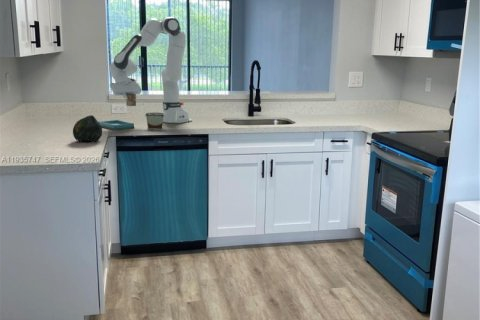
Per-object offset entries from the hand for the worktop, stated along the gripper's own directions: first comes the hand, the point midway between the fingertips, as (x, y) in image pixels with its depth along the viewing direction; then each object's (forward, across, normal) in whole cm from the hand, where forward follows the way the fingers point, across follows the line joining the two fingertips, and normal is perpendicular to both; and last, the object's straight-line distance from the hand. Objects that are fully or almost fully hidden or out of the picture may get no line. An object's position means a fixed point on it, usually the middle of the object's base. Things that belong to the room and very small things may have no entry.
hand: (131, 98), depth 304 cm
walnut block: (+3, 0, +4) cm, 5 cm away
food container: (+26, +6, 0) cm, 27 cm away
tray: (+12, -12, +13) cm, 21 cm away
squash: (+36, -48, -10) cm, 61 cm away
